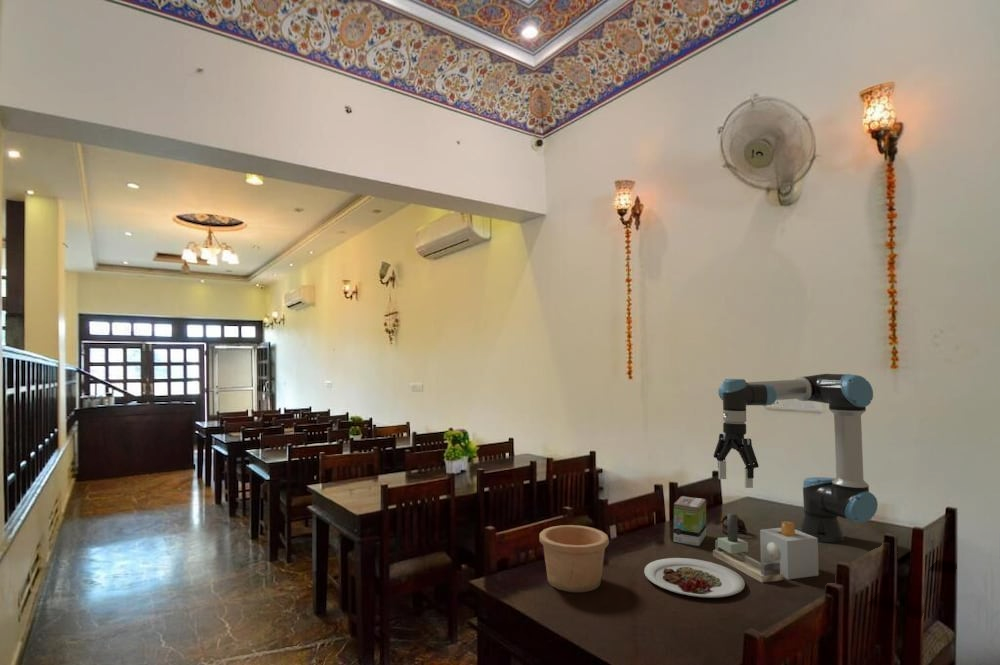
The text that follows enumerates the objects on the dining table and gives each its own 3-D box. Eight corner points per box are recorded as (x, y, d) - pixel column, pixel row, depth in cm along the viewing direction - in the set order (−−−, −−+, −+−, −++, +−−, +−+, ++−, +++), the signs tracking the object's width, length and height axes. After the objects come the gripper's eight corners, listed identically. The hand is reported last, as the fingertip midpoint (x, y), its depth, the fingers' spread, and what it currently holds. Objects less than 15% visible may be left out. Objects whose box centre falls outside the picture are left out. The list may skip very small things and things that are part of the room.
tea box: (700, 547, 201) (699, 507, 202) (672, 542, 206) (672, 503, 207) (706, 535, 214) (706, 498, 215) (681, 531, 219) (680, 494, 220)
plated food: (710, 561, 188) (709, 551, 188) (766, 598, 158) (766, 586, 158) (629, 566, 183) (629, 556, 183) (672, 606, 153) (672, 594, 153)
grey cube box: (789, 562, 186) (789, 526, 187) (818, 575, 174) (817, 538, 175) (759, 565, 183) (759, 529, 183) (787, 579, 171) (786, 541, 172)
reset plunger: (788, 546, 182) (788, 520, 182) (798, 550, 178) (797, 524, 178) (779, 547, 181) (778, 521, 181) (788, 551, 177) (787, 525, 177)
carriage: (734, 544, 192) (733, 510, 193) (748, 551, 185) (747, 516, 186) (717, 546, 190) (717, 512, 191) (730, 553, 184) (730, 518, 184)
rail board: (732, 553, 194) (731, 538, 194) (782, 580, 171) (782, 562, 171) (713, 555, 192) (712, 540, 192) (761, 582, 169) (761, 564, 169)
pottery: (622, 581, 170) (621, 535, 171) (581, 603, 154) (580, 552, 155) (567, 563, 185) (567, 520, 186) (525, 581, 169) (525, 535, 170)
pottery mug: (752, 537, 213) (744, 520, 212) (730, 547, 215) (721, 530, 213) (741, 521, 225) (733, 505, 224) (720, 529, 226) (712, 513, 225)
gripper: (703, 418, 201) (703, 476, 200) (750, 426, 177) (751, 492, 176) (720, 418, 203) (721, 475, 202) (769, 426, 179) (770, 490, 178)
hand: (735, 483), depth 189 cm, fingers open, 13 cm apart
